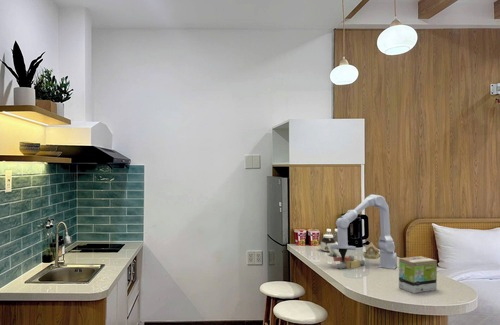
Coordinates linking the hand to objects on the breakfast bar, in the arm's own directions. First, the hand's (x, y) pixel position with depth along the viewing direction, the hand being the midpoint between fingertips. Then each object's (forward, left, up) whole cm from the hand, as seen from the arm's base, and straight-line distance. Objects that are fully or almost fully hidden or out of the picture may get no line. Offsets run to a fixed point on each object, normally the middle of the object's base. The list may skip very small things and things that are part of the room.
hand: (343, 261), depth 219 cm
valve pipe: (-3, -6, -4) cm, 8 cm away
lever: (0, -2, 0) cm, 2 cm away
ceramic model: (-8, -40, -4) cm, 41 cm away
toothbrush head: (+9, -21, -5) cm, 23 cm away
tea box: (-42, +18, -4) cm, 46 cm away
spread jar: (+21, -41, -4) cm, 46 cm away
